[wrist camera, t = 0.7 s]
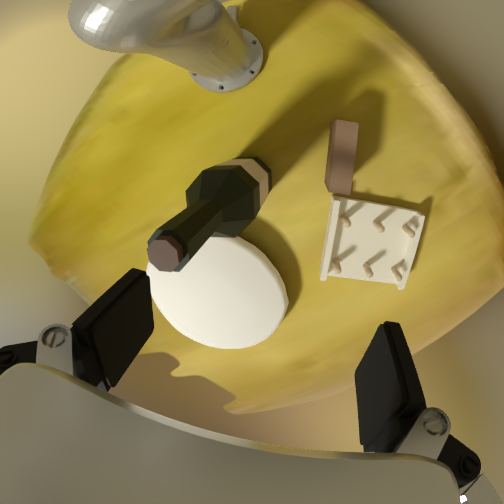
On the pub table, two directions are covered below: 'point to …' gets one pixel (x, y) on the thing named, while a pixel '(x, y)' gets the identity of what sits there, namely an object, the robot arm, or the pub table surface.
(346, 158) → the walnut board
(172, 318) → the plate
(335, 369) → the pub table surface
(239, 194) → the wine bottle
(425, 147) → the pub table surface
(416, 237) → the rack
